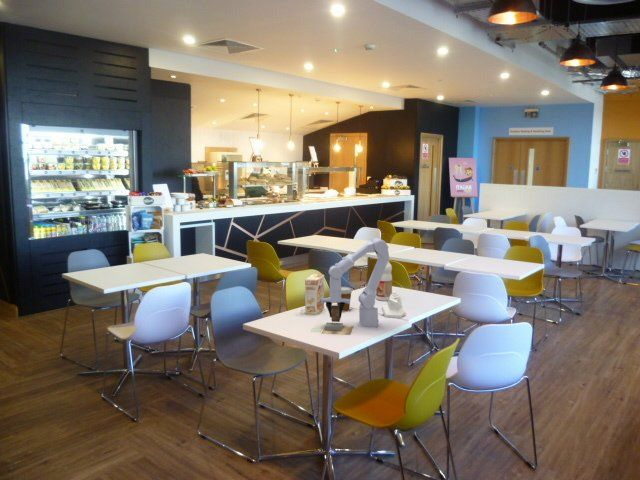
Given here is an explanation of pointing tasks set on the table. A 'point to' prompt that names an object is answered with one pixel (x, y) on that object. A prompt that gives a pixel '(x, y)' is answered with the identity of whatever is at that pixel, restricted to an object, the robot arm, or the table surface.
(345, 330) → the mat
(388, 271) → the fruit juice
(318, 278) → the coffeecake box
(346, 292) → the disposable coffee cup
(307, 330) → the table surface
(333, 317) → the block
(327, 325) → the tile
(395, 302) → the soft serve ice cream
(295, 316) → the table surface
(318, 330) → the block
